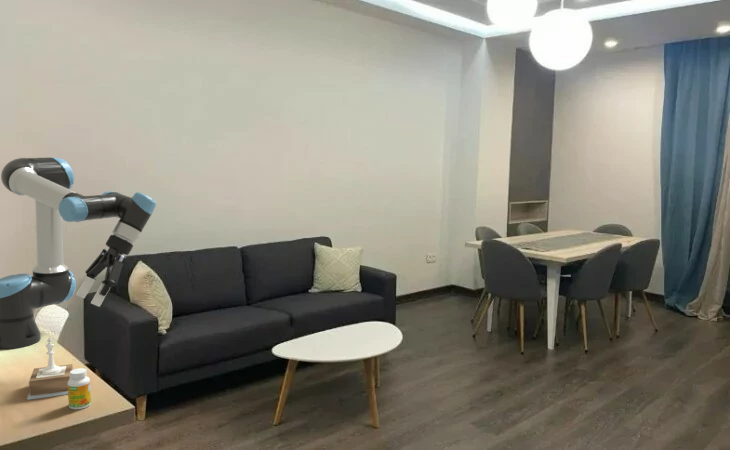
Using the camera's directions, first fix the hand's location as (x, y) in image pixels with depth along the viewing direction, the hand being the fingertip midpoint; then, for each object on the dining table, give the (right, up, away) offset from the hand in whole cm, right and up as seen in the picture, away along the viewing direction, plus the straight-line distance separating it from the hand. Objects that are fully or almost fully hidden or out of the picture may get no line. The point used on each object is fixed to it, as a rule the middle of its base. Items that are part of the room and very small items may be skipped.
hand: (87, 300), depth 178 cm
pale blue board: (-6, -23, -7) cm, 25 cm away
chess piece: (-5, -19, -11) cm, 22 cm away
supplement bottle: (+8, -26, -21) cm, 34 cm away
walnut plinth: (-5, -24, -10) cm, 26 cm away
